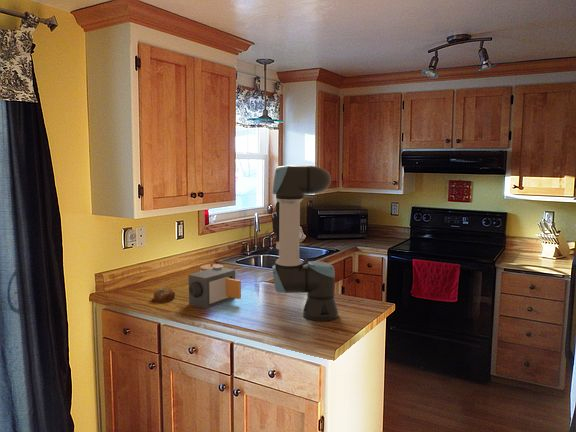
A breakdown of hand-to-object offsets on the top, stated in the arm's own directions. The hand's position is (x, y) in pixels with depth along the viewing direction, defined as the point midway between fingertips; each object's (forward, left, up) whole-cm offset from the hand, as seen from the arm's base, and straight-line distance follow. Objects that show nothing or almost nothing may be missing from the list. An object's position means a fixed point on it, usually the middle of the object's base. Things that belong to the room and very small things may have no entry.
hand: (278, 248), depth 243 cm
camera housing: (+18, +29, -23) cm, 41 cm away
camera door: (+8, +31, -21) cm, 38 cm away
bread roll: (+39, +40, -23) cm, 60 cm away
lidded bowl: (+41, +5, -23) cm, 48 cm away
